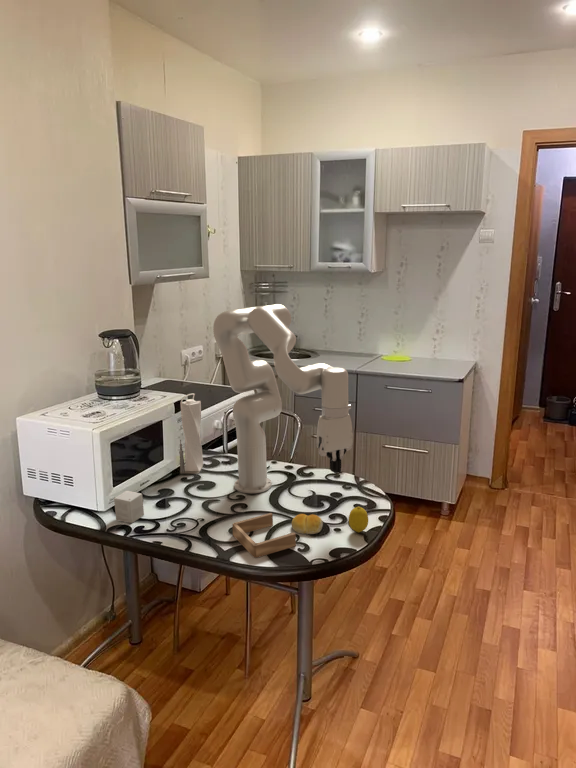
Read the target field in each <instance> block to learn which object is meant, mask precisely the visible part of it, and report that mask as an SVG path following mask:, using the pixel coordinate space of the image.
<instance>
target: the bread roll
mask: <svg viewBox="0 0 576 768" xmlns="http://www.w3.org/2000/svg"><path fill="white" fill-rule="evenodd" d="M323 524H324V521H323V519H322V518H321V517H320V516H319V515H317V514H309V515H307V514H305V513H299V514H297V515H295V517H293V518H292V521H291V528H292V529H293V531H295V533H297V534H302V535H305V534H307V535H314V534H318V533H320V532H322V529H323V526H324V525H323Z"/></svg>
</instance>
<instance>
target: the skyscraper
mask: <svg viewBox="0 0 576 768" xmlns="http://www.w3.org/2000/svg"><path fill="white" fill-rule="evenodd" d="M195 395H196V393H188V394H186V395H184V396H183V397H182V399H181V400H180V413H181V414H180V416H181V424H182V430H183V434H184V450H183V444H182V440H181V439H179V443H180V444H179V452H178V453H179V466H180V467H179V470H180V471H179V474H189V475H190V474H192V475H193V474H195V475H196V474H198V475H199V474H200V472H201V471H202V469H203V467H204V457H203V447H202V441H201V437H200V432H201V424H202V404H201V403H202V402H201V400H195ZM189 396H192V398H190V399H189V398H188V399H186V400H185V401H183V400H184V399H185V398H186V397H189Z"/></svg>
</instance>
